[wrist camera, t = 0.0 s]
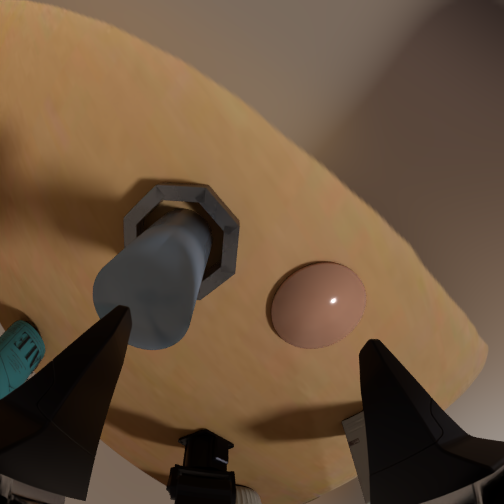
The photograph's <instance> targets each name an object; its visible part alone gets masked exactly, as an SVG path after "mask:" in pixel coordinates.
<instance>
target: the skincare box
mask: <svg viewBox="0 0 504 504" xmlns="http://www.w3.org/2000/svg"><path fill="white" fill-rule="evenodd" d="M342 425H343V428H344V431H345V434H346V438H347V441H348V444H349V448H350V451H351V454H352V458H353V461H354V465H355V468H356V471H357V475H358V479H359V482H360V485H361V489H362V492H363V496H364V499H365V503H366V504H370V484H369V464H368V450H367V439H366V429H365V420H364V411H362V412H361V413H359V414H357V415H355V416H353V417H351V418H349V419H347V420H344V421H342Z"/></svg>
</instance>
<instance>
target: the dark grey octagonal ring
mask: <svg viewBox="0 0 504 504" xmlns="http://www.w3.org/2000/svg"><path fill="white" fill-rule="evenodd" d="M163 200H170V201H186V202H199V203H200V204H201V206H202V207H203V208H204V209H205V210H206V211H207V213H208V214H209V215H210V216H211V217H212V218H213V219H214V221H215V222H216V223H217V224H218V225H219V226H220V227H221V229H222V230H223V231H224V237H223V249H222V259H221V260H220V261H219V262H217V263H216V264H215V265H214V266H212V267H211V268H210V269H209V270H207V271H206V272H205V273H204V274H203V278H202V281H201V285H200V288H199V292H198V296H197V299H196V300H201V299H202V298H204V297H205V296H206V295H208V294H209V293H210V292H212V291H213V290H214V289H216V288H217V287H218V286H219V285H221V284H222V283H223V282H225V281H226V280H227V279H229V278H230V277H231V276H233V275H234V274H235V269H236V258H237V248H238V237H239V227H240V226H239V220H238V219H237V217H236V216H235V215H234V214H233V213H232V212H231V210H230V209H229V208H228V207H227V206H226V205H225V203H224V202H223V201H222V200H221V199H220V198H219V196H218V195H217V194H216V193H215V192H214V191H213V189H212V188H211V187H210V186H209V185H198V184H183V183H160V184H157V185H155V186H154V187H153V188H152V189H151V190H150V191H149V192H148V193H147V194H146V195H145V196H144V197H143V198H142V199H141V200H140V201H139V202H138V203H137V204H136V205H135V206H134V207H133V208H132V210H131V211H130V212H129V213H128V214H127V215H126V216H125V217H124V248H125V247H127V246H128V245H129V244H130V243H131V242H132V241H134V240H135V239H136V238H137V237H138V236H139V235H141V234H142V233H143V232H144V219H145V218H146V217H147V216H148V215H149V214H150V213H151V212H152V211H153V210H154V209H155V208H156V207H157V206H158V205H159V204H160V203H161V202H162V201H163Z"/></svg>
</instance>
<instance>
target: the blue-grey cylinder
mask: <svg viewBox="0 0 504 504" xmlns="http://www.w3.org/2000/svg"><path fill="white" fill-rule="evenodd" d="M212 242H213V237H212V231H211V228H210V226H209V224H208V223H207V221H206V220H205V219H204V218H203V217H202V216H201V215H200V214H198V213H196V212H194V211H192V210H188V209H175V210H172V211H170V212H168V213H166V214H165V215H164V216H162V217H161V218H160V219H159V220H157V221H156V222H155V223H154V224H153V225H151V226H150V227H149V228H148V229H146V230H145V231H144V232H143V233H142V234H141V235H139V236H138V237H137V238H136V239H135V240H134V241H132V242H131V243H130V244H129V245H128V246H127V247H125V248H124V249H123V250H122V251H121V252H120V253H119V254H118V255H116V256H115V257H114V258H113V259H112V260H111V261H110V262H109V263H108V264H106V265H105V266H104V267H103V268H102V269H101V270H100V272H99V273H98V275H97V277H96V279H95V282H94V286H93V301H94V306H95V309H96V311H97V314H98V316H99V318H100V319H101V318H103V317H104V316H105V315H106V314H108V313H109V312H110V311H111V310H112V309H114V308H115V307H116V306H118V305H124V306H128V307H129V308H130V311H131V318H132V329H131V333H130V337H129V341H128V344H129V345H131V346H134V347H137V348H141V349H147V350H158V349H164V348H167V347H170V346H172V345H174V344H176V343H177V342H178V341H180V340H181V339H182V338H183V336H184V335H185V334H186V332H187V330H188V328H189V325H190V321H191V318H192V314H193V310H194V306H195V303H196V299H197V296H198V292H199V288H200V285H201V281H202V278H203V274H204V271H205V267H206V264H207V261H208V257H209V254H210V250H211V247H212Z"/></svg>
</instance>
